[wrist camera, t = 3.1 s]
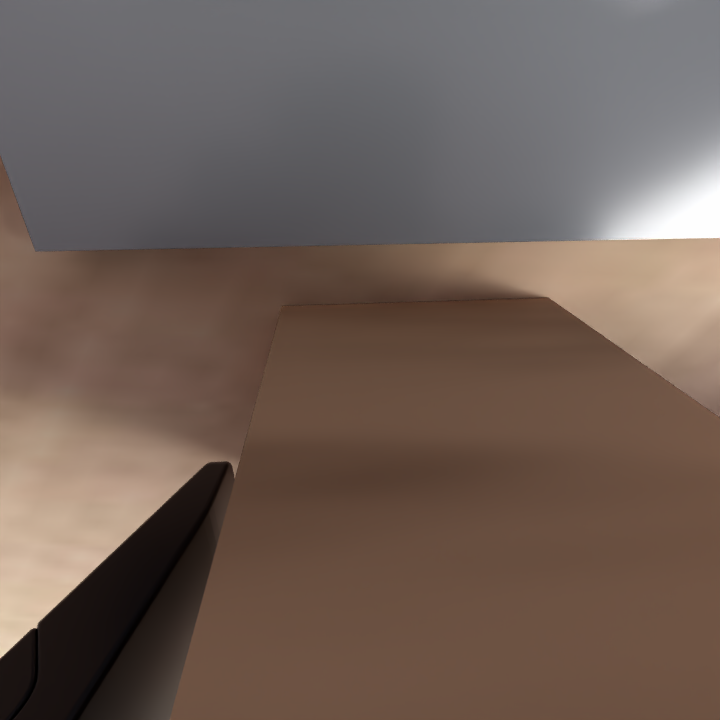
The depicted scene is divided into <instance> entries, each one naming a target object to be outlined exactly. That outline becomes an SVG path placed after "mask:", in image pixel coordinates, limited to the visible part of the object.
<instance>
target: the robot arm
mask: <svg viewBox="0 0 720 720" xmlns="http://www.w3.org/2000/svg"><path fill="white" fill-rule="evenodd" d="M234 481H235V478H234V473H233V468H232V465H231V463H229V462H227V461H224V462H210V463H207V464H206V465H205V466H203V467H202V468H201V469H200V470H199V471H198V472H197V473H196V474H195V475H194V476H193V477H192V478H191V479H190V480H189V481H188V482H187V483H185V484H184V485H183V486H182V487H181V488H180V489H179V490H178V491H177V492H176V493H175V494H174V495H173V496H172V497H171V498H170V499H169V500H168V501H166V502H165V503H164V504H163V505H162V506H161V507H160V508H159V509H158V510H157V511H156V512H155V513H154V514H153V515H152V516H151V517H150V518H149V519H147V520H146V521H145V522H144V523H143V524H142V525H141V526H140V527H139V528H138V529H137V530H136V531H135V532H134V533H133V534H132V535H131V536H130V537H128V538H127V539H126V540H125V541H124V542H123V543H122V544H121V545H120V546H119V547H118V548H117V549H116V550H115V551H114V552H113V553H112V554H111V555H109V556H108V557H107V558H106V559H105V560H104V561H103V562H102V563H101V564H100V565H99V566H98V567H97V568H96V569H95V570H94V571H93V572H92V573H90V574H89V575H88V576H87V577H86V578H85V579H84V580H83V581H82V582H81V583H80V584H79V585H78V586H77V587H76V588H75V589H74V590H73V591H71V592H70V593H69V594H68V595H67V596H66V597H65V598H64V599H63V600H62V601H61V602H60V603H59V604H58V605H57V606H56V607H55V608H53V609H52V610H51V611H50V612H49V613H48V614H47V615H46V616H45V617H44V618H43V619H42V620H41V621H40V622H39V623H38V625H37V629H36V628H33V629H31V630H30V631H29V632H28V633H27V634H26V635H25V636H24V637H23V638H22V639H20V640H19V641H18V642H17V643H16V644H15V645H14V646H13V647H12V648H11V649H10V650H9V651H8V652H7V653H6V654H5V655H4V656H2V657H1V658H0V720H170V716H171V713H172V709H173V705H174V702H175V698H176V694H177V691H178V687H179V683H180V680H181V676H182V672H183V669H184V665H185V661H186V657H187V654H188V650H189V646H190V643H191V639H192V635H193V632H194V628H195V624H196V621H197V617H198V613H199V610H200V606H201V602H202V599H203V595H204V591H205V587H206V584H207V580H208V576H209V573H210V569H211V565H212V562H213V558H214V554H215V551H216V547H217V543H218V540H219V536H220V532H221V528H222V525H223V521H224V517H225V514H226V510H227V506H228V503H229V499H230V495H231V492H232V488H233V484H234Z"/></svg>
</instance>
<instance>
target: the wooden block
mask: <svg viewBox="0 0 720 720" xmlns="http://www.w3.org/2000/svg"><path fill="white" fill-rule="evenodd" d="M170 720H720V418H719V417H718V416H716V415H715V414H714V413H712V412H711V411H709V410H708V409H706V408H705V407H704V406H702V405H701V404H699V403H698V402H696V401H695V400H694V399H692V398H691V397H689V396H688V395H686V394H685V393H684V392H682V391H681V390H679V389H678V388H677V387H675V386H674V385H672V384H671V383H669V382H668V381H667V380H665V379H664V378H662V377H661V376H659V375H658V374H657V373H655V372H654V371H652V370H651V369H649V368H648V367H647V366H645V365H644V364H642V363H641V362H639V361H638V360H637V359H635V358H634V357H632V356H631V355H629V354H628V353H627V352H625V351H624V350H622V349H621V348H619V347H618V346H617V345H615V344H614V343H612V342H611V341H609V340H608V339H607V338H605V337H604V336H602V335H601V334H599V333H598V332H597V331H595V330H594V329H592V328H591V327H589V326H588V325H587V324H585V323H584V322H582V321H581V320H579V319H578V318H577V317H575V316H574V315H572V314H571V313H569V312H568V311H567V310H565V309H564V308H562V307H561V306H560V305H558V304H557V303H555V302H554V301H552V300H551V299H550V298H528V299H495V300H462V301H430V302H397V303H364V304H331V305H299V306H282V307H281V311H280V315H279V318H278V322H277V326H276V329H275V333H274V337H273V340H272V344H271V348H270V351H269V355H268V359H267V363H266V366H265V370H264V374H263V377H262V381H261V385H260V388H259V392H258V396H257V399H256V403H255V407H254V410H253V414H252V418H251V422H250V425H249V429H248V433H247V436H246V440H245V444H244V447H243V451H242V455H241V458H240V462H239V466H238V469H237V473H236V477H235V481H234V484H233V488H232V492H231V495H230V499H229V503H228V506H227V510H226V514H225V517H224V521H223V525H222V528H221V532H220V536H219V540H218V543H217V547H216V551H215V554H214V558H213V562H212V565H211V569H210V573H209V576H208V580H207V584H206V587H205V591H204V595H203V599H202V602H201V606H200V610H199V613H198V617H197V621H196V624H195V628H194V632H193V635H192V639H191V643H190V646H189V650H188V654H187V657H186V661H185V665H184V669H183V672H182V676H181V680H180V683H179V687H178V691H177V694H176V698H175V702H174V705H173V709H172V713H171V716H170Z"/></svg>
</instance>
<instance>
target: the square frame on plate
mask: <svg viewBox="0 0 720 720" xmlns="http://www.w3.org/2000/svg"><path fill="white" fill-rule="evenodd" d="M0 156H1V159H2V161H3V164H4V167H5V170H6V172H7V175H8V178H9V180H10V183H11V186H12V189H13V191H14V194H15V197H16V200H17V202H18V205H19V208H20V211H21V213H22V216H23V219H24V221H25V224H26V227H27V230H28V232H29V235H30V238H31V241H32V243H33V246H34V249H35V251H83V250H133V249H183V248H232V247H282V246H332V245H382V244H432V243H481V242H531V241H581V240H631V239H681V238H720V0H0Z"/></svg>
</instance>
